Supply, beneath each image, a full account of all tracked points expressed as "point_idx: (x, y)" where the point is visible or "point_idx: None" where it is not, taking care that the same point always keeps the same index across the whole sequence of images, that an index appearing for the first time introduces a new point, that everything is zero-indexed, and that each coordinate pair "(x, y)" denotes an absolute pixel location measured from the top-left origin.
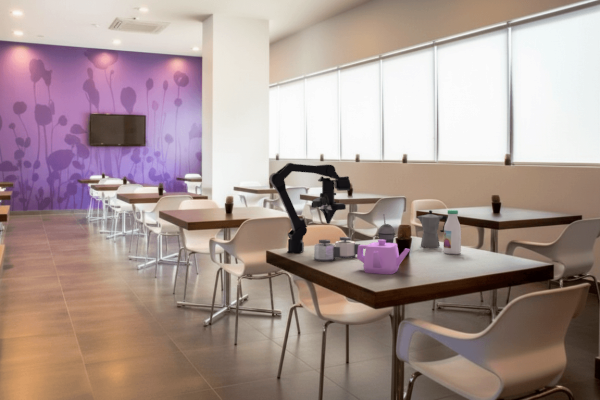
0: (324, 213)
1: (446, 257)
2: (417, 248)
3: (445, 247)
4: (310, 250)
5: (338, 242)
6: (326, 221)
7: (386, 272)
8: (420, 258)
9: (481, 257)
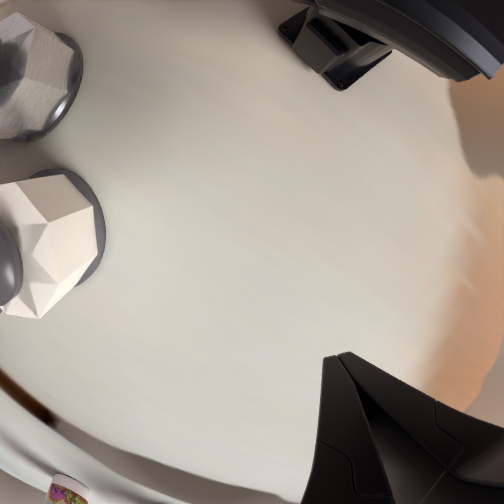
0: (469, 448)
1: (21, 445)
2: (155, 493)
3: (60, 485)
4: (346, 147)
5: (3, 201)
6: (362, 364)
7: None
8: (5, 407)
9: (26, 469)
